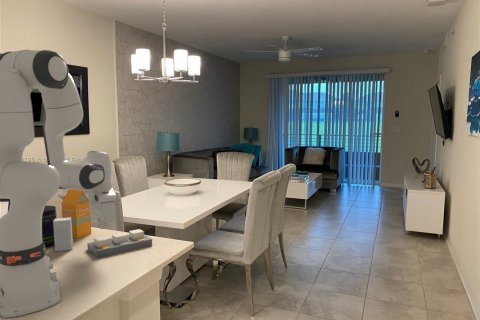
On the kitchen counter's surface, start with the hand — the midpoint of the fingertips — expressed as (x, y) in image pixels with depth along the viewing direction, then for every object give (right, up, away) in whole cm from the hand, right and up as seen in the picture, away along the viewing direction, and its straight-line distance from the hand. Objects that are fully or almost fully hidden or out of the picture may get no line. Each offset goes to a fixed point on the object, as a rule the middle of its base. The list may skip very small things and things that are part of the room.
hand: (102, 228), depth 140 cm
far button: (+11, -6, +9) cm, 15 cm away
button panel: (+6, -9, +5) cm, 11 cm away
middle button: (+5, -6, +5) cm, 10 cm away
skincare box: (-16, -9, +3) cm, 19 cm away
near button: (0, -7, 0) cm, 7 cm away
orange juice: (-18, -7, +20) cm, 28 cm away
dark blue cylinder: (-26, -8, +7) cm, 28 cm away
